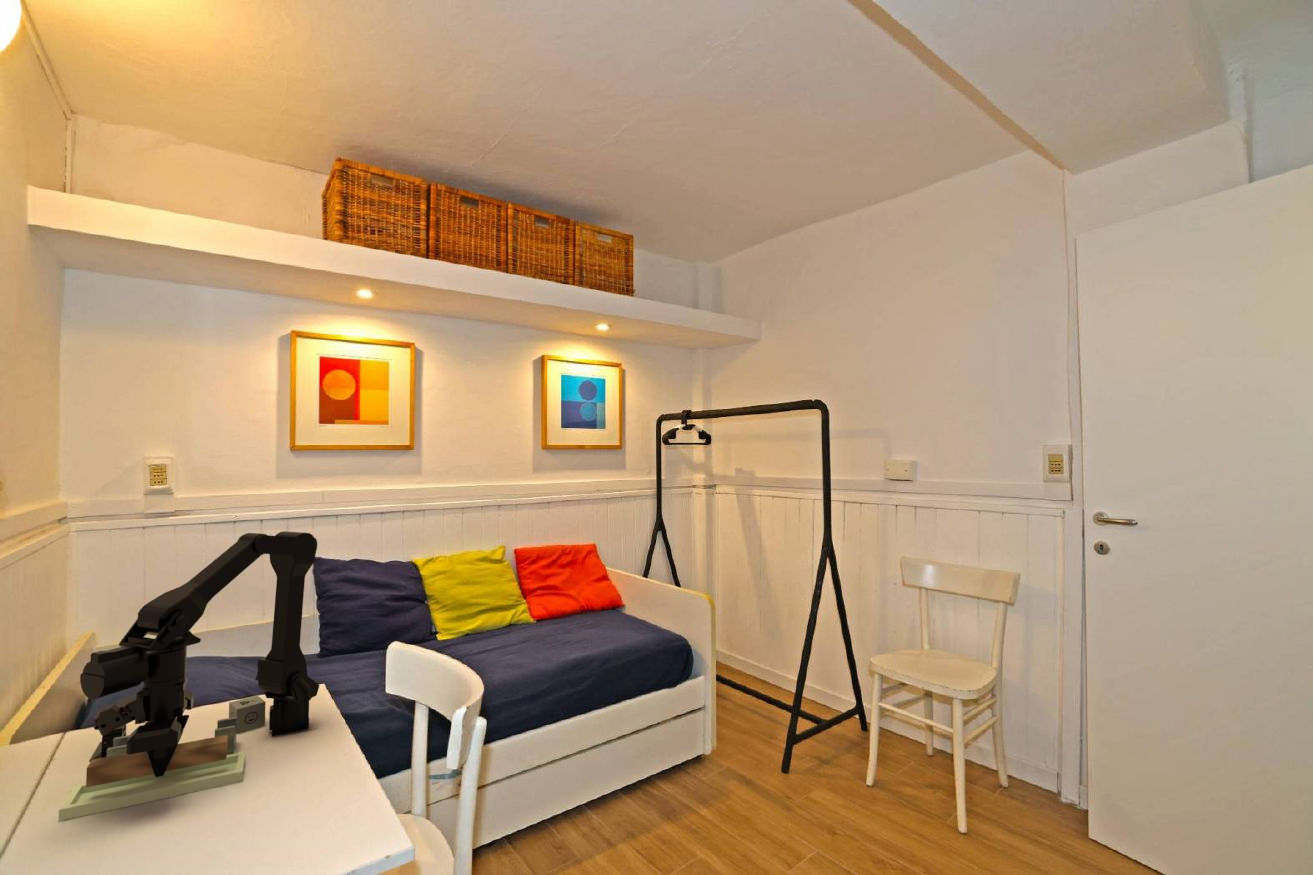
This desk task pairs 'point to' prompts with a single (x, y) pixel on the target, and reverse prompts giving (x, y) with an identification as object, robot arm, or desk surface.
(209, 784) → the tray
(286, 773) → the desk surface
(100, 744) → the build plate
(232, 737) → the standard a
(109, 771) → the rail
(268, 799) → the desk surface
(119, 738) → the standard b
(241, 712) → the dice cube
